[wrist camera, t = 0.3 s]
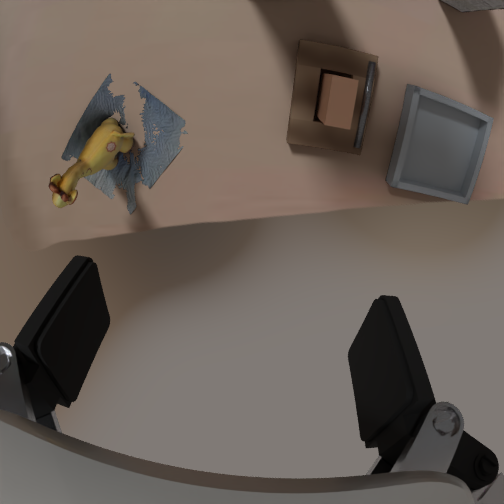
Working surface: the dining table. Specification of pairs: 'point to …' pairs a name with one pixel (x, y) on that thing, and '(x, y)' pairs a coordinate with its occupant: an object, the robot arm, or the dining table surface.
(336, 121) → the tan rectangular block
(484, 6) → the candy bar box
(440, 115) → the tray
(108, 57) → the dining table surface
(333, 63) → the brown piece
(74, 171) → the stuffed giraffe
